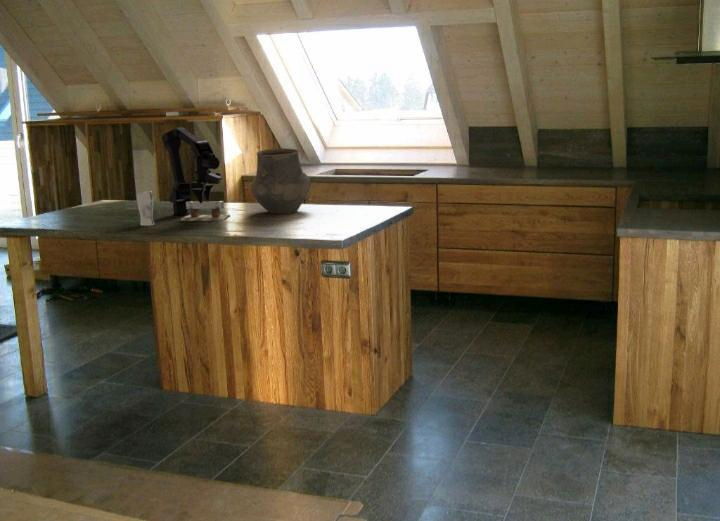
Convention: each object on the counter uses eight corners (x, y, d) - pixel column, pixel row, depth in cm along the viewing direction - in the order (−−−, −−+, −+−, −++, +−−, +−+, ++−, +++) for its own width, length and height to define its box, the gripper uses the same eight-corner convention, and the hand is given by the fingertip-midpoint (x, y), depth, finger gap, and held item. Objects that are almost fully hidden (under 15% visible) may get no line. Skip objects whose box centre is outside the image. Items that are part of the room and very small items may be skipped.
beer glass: (136, 225, 375) (133, 192, 372) (150, 223, 380) (148, 190, 376) (143, 226, 370) (140, 193, 367) (157, 224, 374) (155, 191, 371)
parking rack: (181, 220, 383) (180, 210, 382) (189, 217, 394) (188, 206, 393) (222, 220, 380) (222, 209, 379) (230, 216, 390) (229, 206, 389)
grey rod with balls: (185, 208, 385) (184, 202, 385) (188, 207, 389) (187, 201, 388) (222, 208, 382) (221, 202, 382) (225, 207, 386) (224, 201, 386)
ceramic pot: (315, 207, 411) (313, 146, 405) (306, 216, 384) (303, 151, 377) (259, 208, 414) (256, 148, 408) (246, 217, 387) (242, 153, 380)
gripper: (212, 170, 372) (214, 204, 375) (225, 165, 390) (227, 198, 393) (188, 170, 373) (191, 204, 377) (202, 166, 391) (204, 199, 395)
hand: (204, 201), depth 385 cm, fingers open, 9 cm apart
